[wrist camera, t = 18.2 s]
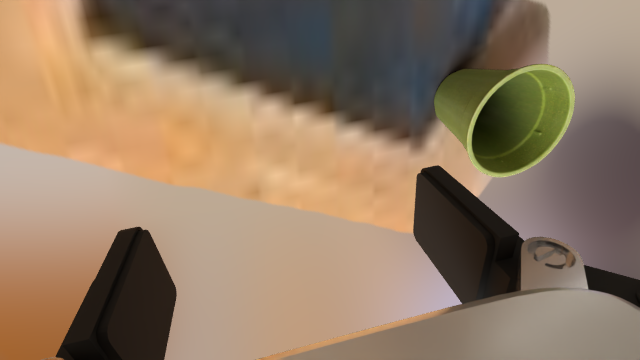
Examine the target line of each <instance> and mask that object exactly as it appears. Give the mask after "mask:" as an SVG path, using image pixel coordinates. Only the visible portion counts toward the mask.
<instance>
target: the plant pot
mask: <svg viewBox="0 0 640 360" xmlns="http://www.w3.org/2000/svg"><path fill="white" fill-rule="evenodd" d="M574 102H575V95H574V88H573V85H572V82H571V80H570V79H569V77H568V75H567V74H566V73H565V72H564V71H562V70H561V69H560V68H558V67H555V66H552V65H548V64H534V65H529V66H525V67H522V68H520V69H511V70H486V69H462V70H459V71H457V72H455V73H452V74H450V75H449V76H448V77H447V78H446V79H445V80H444V81H443V82H442V83H441V85H440V86H439V88H438V90H437V92H436V95H435V98H434V106H435V112H436V115H437V117H438V118H439V119H440V120H441V121H442V122H443V123H444V124H445V126H446V127H447V128H448V129H449V130H450V131H451V132H452V133H453V134H454V135H455V136H456V137H457V138H458V139H459V140H460V142H461V143H462V144H463V146H464V148H465V149H466V150H467V152H468V155H469V158H470V160H471V162H472V163H473V165H474V166H475V167H476V168H477V169H478V170H479V171H480V172H482V173H484V174H486V175H489V176H493V177H507V176H511V175H514V174H518V173H520V172H523V171H525V170H527V169H529V168H530V167H532V166H534V165H535V164H537V163H538V162H539V161H541V160H542V159H543V158H544V157H545V156H547V155H548V154H549V153H550V152H551V151H552V149H553V148H554V147H555V146H556V145H557V144H558V142H559V141H560V139H561V138H562V136H563V135H564V133H565V131H566V129H567V127H568V125H569V123H570V120H571V117H572V114H573V110H574Z"/></svg>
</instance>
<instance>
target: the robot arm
mask: <svg viewBox="0 0 640 360" xmlns="http://www.w3.org/2000/svg"><path fill="white" fill-rule="evenodd" d="M413 232H414V236H415V239H416V241H417V242H418V243H419V245H420V246H421V247H422V249H423V250H424V252H425V253H426V254H427V255H428V257H429V258H430V260H431V261H432V263H433V264H434V265H435V267H436V268H437V269H438V271H439V272H440V274H441V275H442V276H443V278H444V279H445V280H446V282H447V283H448V285H449V286H450V287H451V289H452V290H453V291H454V293H455V294H456V295H457V297H458V298H459V300H460V301H461V302H462V304H461V305H456V306H452V307H448V308H445V309H441V310H437V311H434V312H430V313H426V314H422V315H418V316H415V317H411V318H407V319H403V320H399V321H396V322H392V323H389V324H384V325H381V326H377V327H373V328H369V329H366V330H362V331H359V332H355V333H351V334H348V335H343V336H340V337H336V338H332V339H329V340H325V341H321V342H318V343H314V344H310V345H307V346H303V347H299V348H296V349H292V350H289V351H285V352H281V353H277V354H274V355H270V356H267V357H263V358H259V359H256V360H640V280H638V279H634V278H630V277H626V276H623V275H619V274H615V273H612V272H608V271H604V270H601V269H597V268H593V267H589V266H586V265H583V261H582V258H581V256H580V255H579V253H577V251H576V250H575V249H573V248H572V247H570V246H569V245H567V244H565V243H563V242H561V241H559V240H555V239H552V238H546V237H533V238H529V239H527V240H526V241H524V240H523V239H522V238H520V237H519V233H518V232H517V231H516V230H514V229H513V228H512V227H511V226H510V225H509V224H507V223H506V222H505V221H504V220H503V219H502V218H500V217H499V216H498V215H497V214H495V213H494V212H493V211H492V210H491V209H489V207H487V206H486V205H485V204H484V203H483V202H481V201H480V200H479V199H478V198H477V197H476V196H474V195H473V194H472V193H471V192H470V191H469V190H467V189H466V188H465V187H464V186H463V185H462V184H460V183H459V182H458V181H457V180H456V179H454V178H453V177H452V176H451V175H450V174H449V173H447V172H446V171H445V170H444V169H443V168H442V167H440V166H432V167H428V168H423V169H422V170H421V173H419V174H418V175H417V182H416V198H415V213H414V229H413ZM175 301H176V287H175V285H174V283H173V281H172V279H171V277H170V275H169V272H168V270H167V268H166V266H165V264H164V262H163V260H162V258H161V255H160V253H159V251H158V249H157V247H156V245H155V243H154V241H153V239H152V237H151V235H150V233H149V231H148V230H142V228H141V227H135V228H130V229H125V230H121V231H119V232H118V234H117V236H116V238H115V240H114V242H113V244H112V246H111V248H110V250H109V252H108V254H107V256H106V258H105V260H104V262H103V264H102V266H101V268H100V270H99V272H98V274H97V276H96V278H95V280H94V281H93V283H92V284H91V286H90V288H89V290H88V292H87V294H86V296H85V298H84V300H83V302H82V304H81V306H80V308H79V310H78V312H77V314H76V316H75V318H74V320H73V322H72V324H71V326H70V328H69V330H68V333H67V334H66V336H65V339H64V341H63V343H62V345H61V347H60V349H59V351H58V353H57V355H56V357H52V358H46V359H43V360H164V357H165V352H166V347H167V342H168V337H169V331H170V327H171V322H172V317H173V311H174V307H175Z"/></svg>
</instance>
